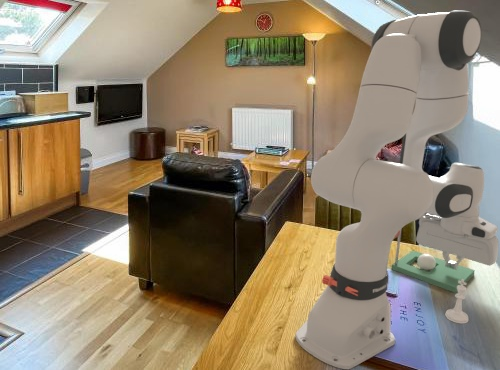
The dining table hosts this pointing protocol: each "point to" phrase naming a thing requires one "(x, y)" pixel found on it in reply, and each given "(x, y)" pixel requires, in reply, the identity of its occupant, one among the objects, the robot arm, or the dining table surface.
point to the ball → (426, 262)
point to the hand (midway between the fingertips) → (451, 267)
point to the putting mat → (437, 276)
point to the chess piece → (458, 306)
